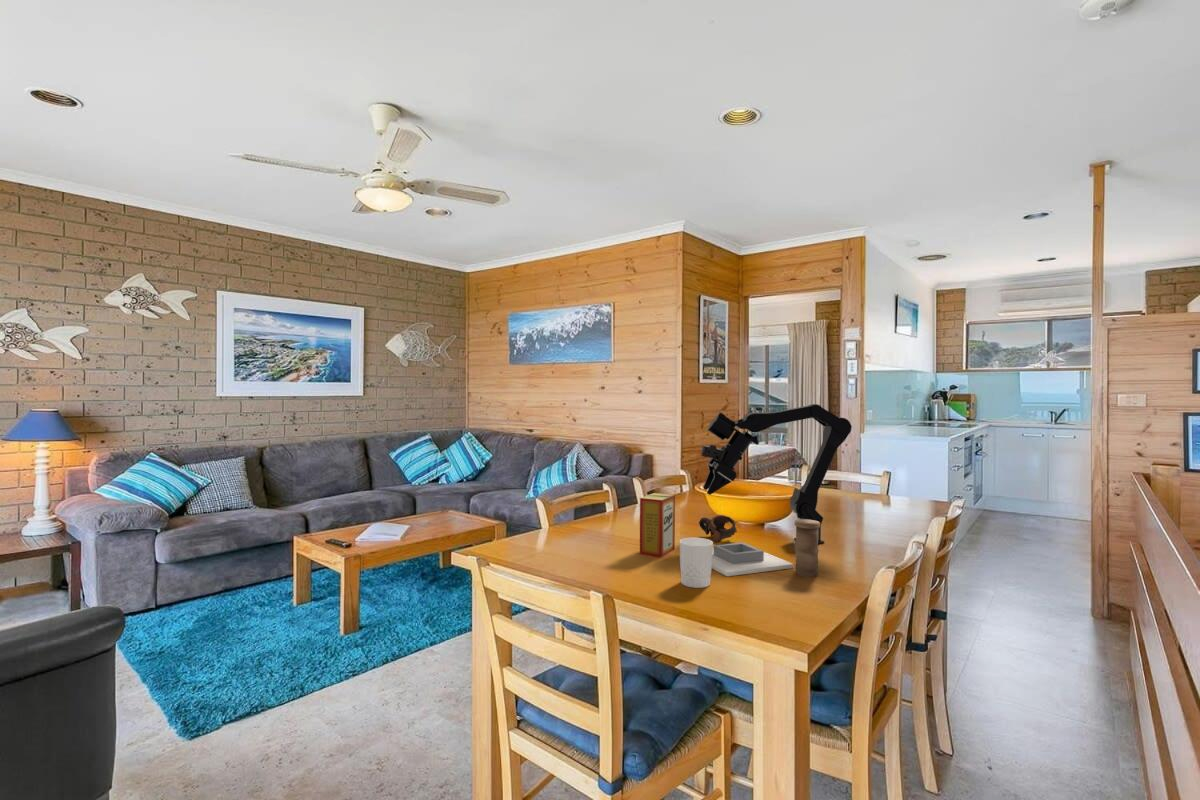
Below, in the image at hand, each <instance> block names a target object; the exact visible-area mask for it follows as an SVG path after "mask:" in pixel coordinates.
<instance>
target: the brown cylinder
mask: <svg viewBox="0 0 1200 800" xmlns="http://www.w3.org/2000/svg"><path fill="white" fill-rule="evenodd" d="M794 526H795V527H796V528H795V529H796V530H795V536H796V537H795V538H796V540H795V574H796V575H798V576H801V577H804V578H805V577H807V578H814V577H818V575H819V574H818V566H819V565H818V564H819V560H818V559H819V543H818V528H820V522H818V521H815V520H808V519H799V518H798V519H795V520H794Z"/></svg>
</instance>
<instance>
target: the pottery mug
mask: <svg viewBox="0 0 1200 800" xmlns="http://www.w3.org/2000/svg"><path fill="white" fill-rule="evenodd" d="M727 523H730V524H731V527H729V528H728V529H727V528H726V527H725V525H726V524H727ZM698 525H699V527H700V529H701V530H702V531H704V533H705V535H706V536H708V535H709V534H710V536H711V537H712V542H715V543H718V542H719V541H720V540H725V539H729V538H731V537H733V536H735V535H736V533H738V530H737V527H736V522H735V521H734V519H733V518H732V517H730V516H728V515H724V514H717V515H714V516H713V517H712V518H711V519H710V518H708V517H705V516H704V517H701V518H700V519H699V521H698Z"/></svg>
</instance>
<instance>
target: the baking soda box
mask: <svg viewBox="0 0 1200 800" xmlns="http://www.w3.org/2000/svg"><path fill="white" fill-rule="evenodd" d="M675 515H676V494H668V493H667V494H666V493H658V492H657V493H656V492H653V493H651V494H647V495H645V496H641V497H640V498H639V555H643V556H649V557H655V558H663V557H664V556H667V554H669V553H671V552H673V551H675V546H676V545H675V544H676V543H675V539H676V537H675V534H676V532H675V531H676V530H675V529H676V528H675V525H676V521H675V520H676V516H675Z"/></svg>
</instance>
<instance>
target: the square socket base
mask: <svg viewBox="0 0 1200 800" xmlns="http://www.w3.org/2000/svg"><path fill="white" fill-rule="evenodd" d="M788 569H794V563H792V562H790V561H788V560H785V559H782V558H780V557H777V556H775V555H772V554H770V553H767V552H766V551H764V550H762V549H760V548H757V547H755V546H752V545H750V544H748V543H745V542H744V541H743V542H735V543H725V544H713V553H712V568H711V570H714V571H716V572H717V573H719V574H721V575H723V576H725V577H732V576H733V577H734V576H741V575H747V574H748V575H749V574H758V573H764V572H772V571H779V570H788Z"/></svg>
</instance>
